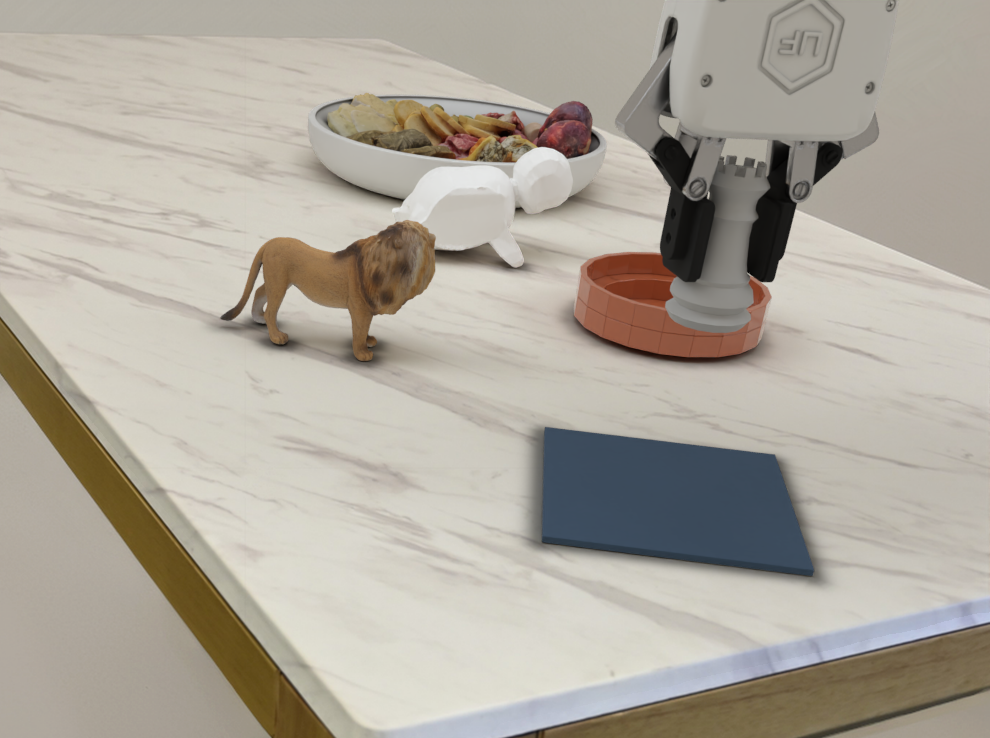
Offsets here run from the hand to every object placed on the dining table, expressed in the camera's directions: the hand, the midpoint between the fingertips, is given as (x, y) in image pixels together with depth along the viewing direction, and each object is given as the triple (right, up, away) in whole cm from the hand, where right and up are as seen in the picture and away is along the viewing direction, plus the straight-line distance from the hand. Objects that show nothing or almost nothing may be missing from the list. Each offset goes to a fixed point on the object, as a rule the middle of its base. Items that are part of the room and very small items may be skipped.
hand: (717, 270), depth 64 cm
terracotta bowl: (+4, +4, +31) cm, 32 cm away
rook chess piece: (0, -2, +2) cm, 3 cm away
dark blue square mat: (-1, -11, +7) cm, 13 cm away
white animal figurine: (-9, +13, +44) cm, 47 cm away
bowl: (-10, +27, +65) cm, 71 cm away
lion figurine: (-21, +1, +24) cm, 31 cm away
